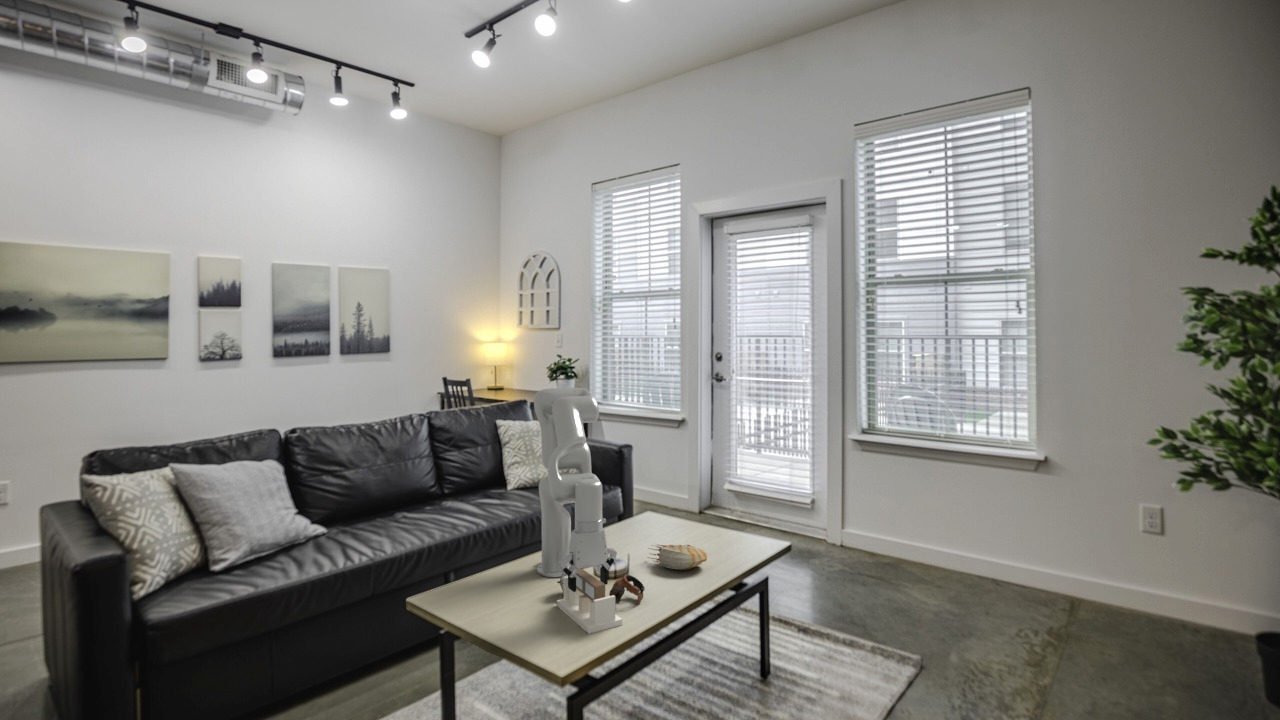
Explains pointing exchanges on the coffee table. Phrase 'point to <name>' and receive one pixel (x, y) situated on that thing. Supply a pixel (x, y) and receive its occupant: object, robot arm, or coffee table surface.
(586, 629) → the stand
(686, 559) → the nautilus
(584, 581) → the tall brown box
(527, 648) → the coffee table surface
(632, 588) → the brown curved ringed piece
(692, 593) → the coffee table surface
